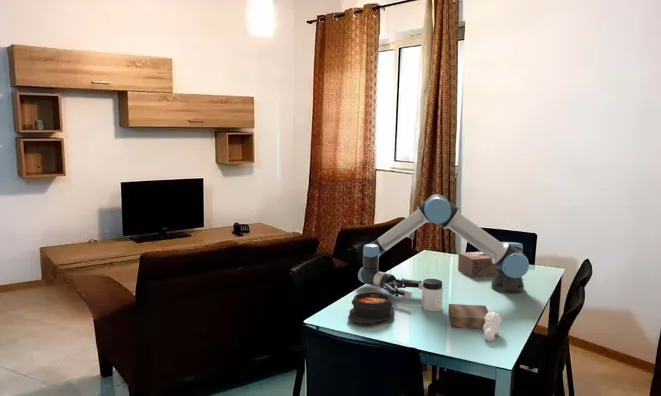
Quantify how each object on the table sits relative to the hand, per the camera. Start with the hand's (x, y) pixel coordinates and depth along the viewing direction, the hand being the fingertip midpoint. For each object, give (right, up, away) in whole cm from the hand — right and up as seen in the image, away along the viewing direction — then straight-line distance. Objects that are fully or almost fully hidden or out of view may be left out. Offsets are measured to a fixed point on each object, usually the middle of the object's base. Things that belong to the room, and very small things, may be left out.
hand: (421, 292), depth 225 cm
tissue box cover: (+45, +1, +54) cm, 70 cm away
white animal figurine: (+20, -11, -34) cm, 41 cm away
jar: (+4, -7, -3) cm, 8 cm away
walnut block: (+16, -9, -19) cm, 26 cm away
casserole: (-23, -8, -14) cm, 28 cm away
